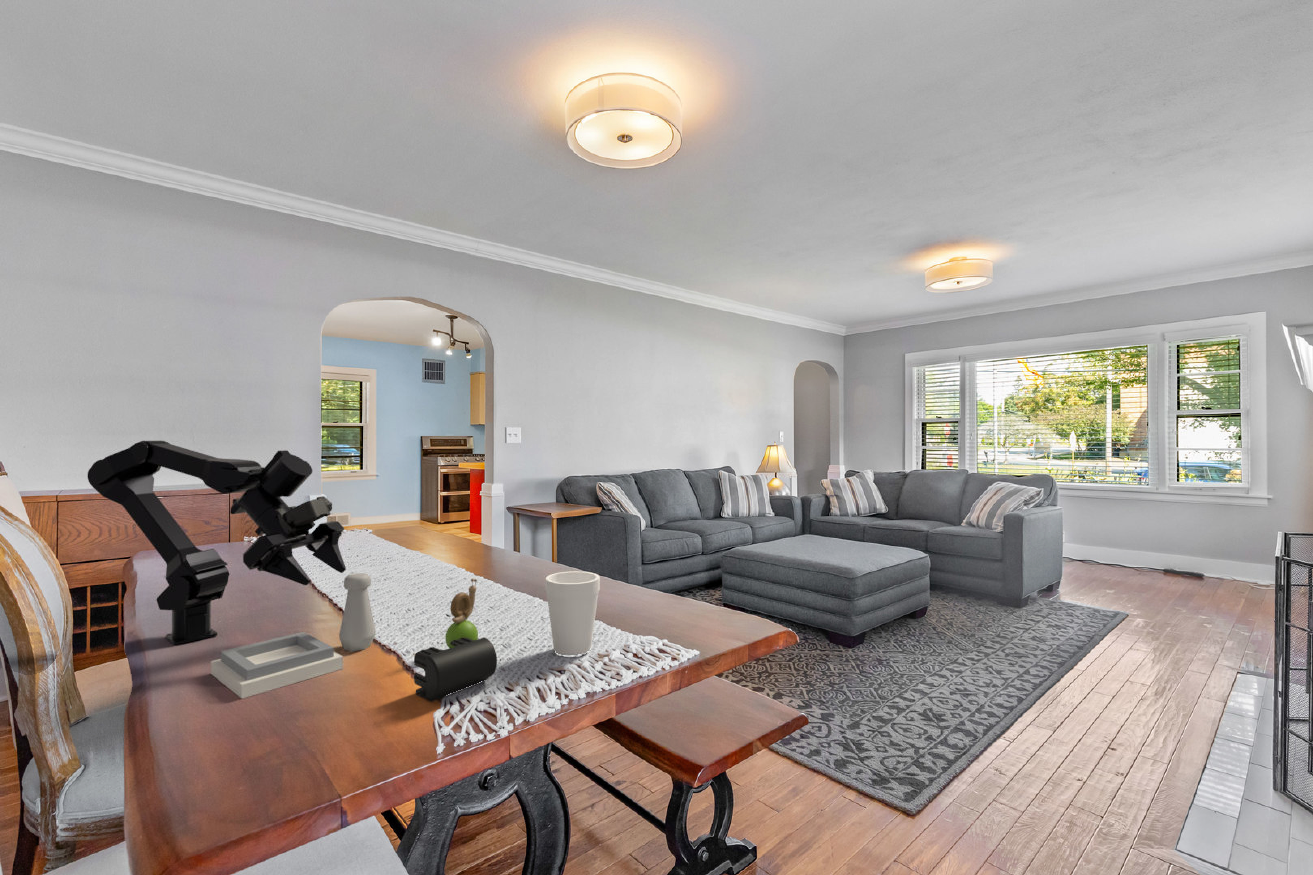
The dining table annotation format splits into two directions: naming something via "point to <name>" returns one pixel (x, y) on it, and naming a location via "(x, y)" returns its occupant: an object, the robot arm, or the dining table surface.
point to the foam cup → (572, 610)
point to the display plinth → (274, 663)
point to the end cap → (454, 667)
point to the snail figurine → (462, 617)
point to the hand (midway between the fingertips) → (326, 577)
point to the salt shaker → (357, 614)
